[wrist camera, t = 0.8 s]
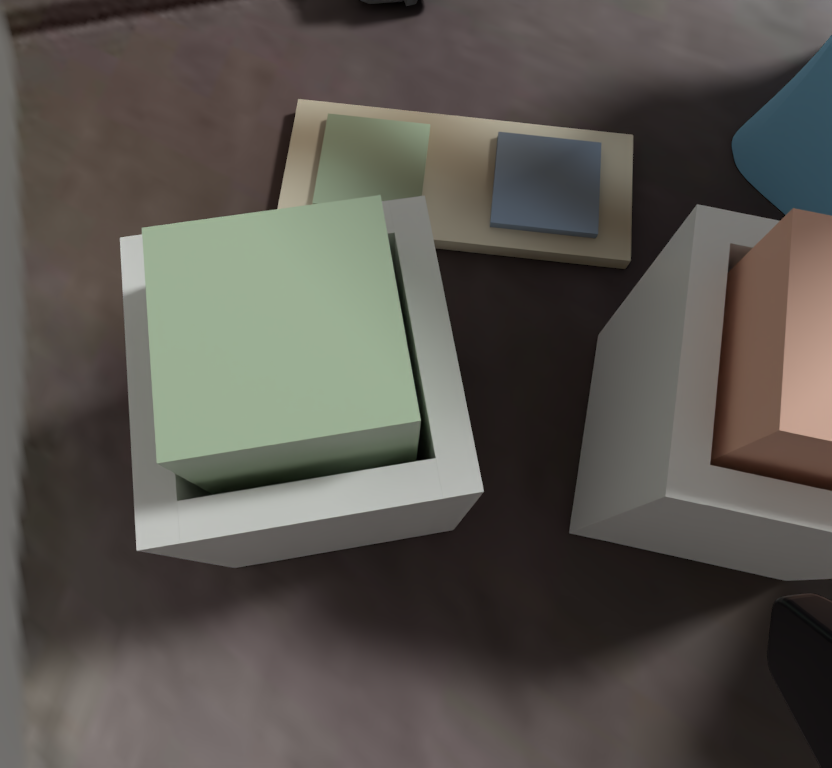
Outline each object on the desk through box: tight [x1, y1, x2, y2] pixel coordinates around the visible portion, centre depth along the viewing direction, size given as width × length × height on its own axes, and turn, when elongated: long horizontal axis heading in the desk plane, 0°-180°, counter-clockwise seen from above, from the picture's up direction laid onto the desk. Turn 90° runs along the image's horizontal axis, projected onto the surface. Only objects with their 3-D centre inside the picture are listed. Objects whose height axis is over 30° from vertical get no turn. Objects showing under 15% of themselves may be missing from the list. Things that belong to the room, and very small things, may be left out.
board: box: [277, 99, 633, 269], centre depth 24 cm, size 5×12×1 cm, turn 84°
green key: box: [142, 195, 421, 495], centre depth 15 cm, size 4×4×7 cm
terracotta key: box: [710, 208, 832, 491], centre depth 16 cm, size 4×4×7 cm
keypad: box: [120, 196, 832, 581], centre depth 17 cm, size 11×30×8 cm, turn 84°
